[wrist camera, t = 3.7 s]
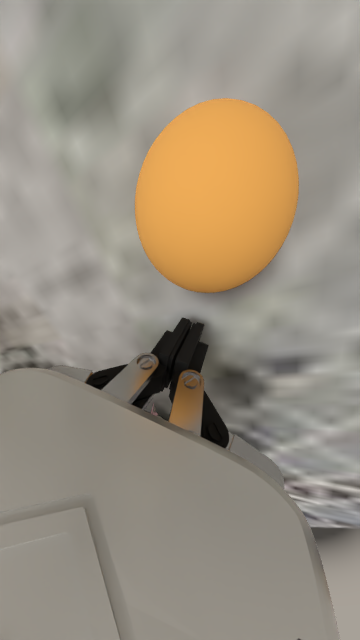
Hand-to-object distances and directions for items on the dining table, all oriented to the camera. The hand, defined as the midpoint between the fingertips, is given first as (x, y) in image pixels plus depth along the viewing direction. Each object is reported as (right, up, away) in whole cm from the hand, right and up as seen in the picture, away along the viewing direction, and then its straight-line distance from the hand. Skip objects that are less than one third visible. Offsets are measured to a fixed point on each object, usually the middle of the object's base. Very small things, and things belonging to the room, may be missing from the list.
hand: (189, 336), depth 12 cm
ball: (+1, +5, -6) cm, 8 cm away
